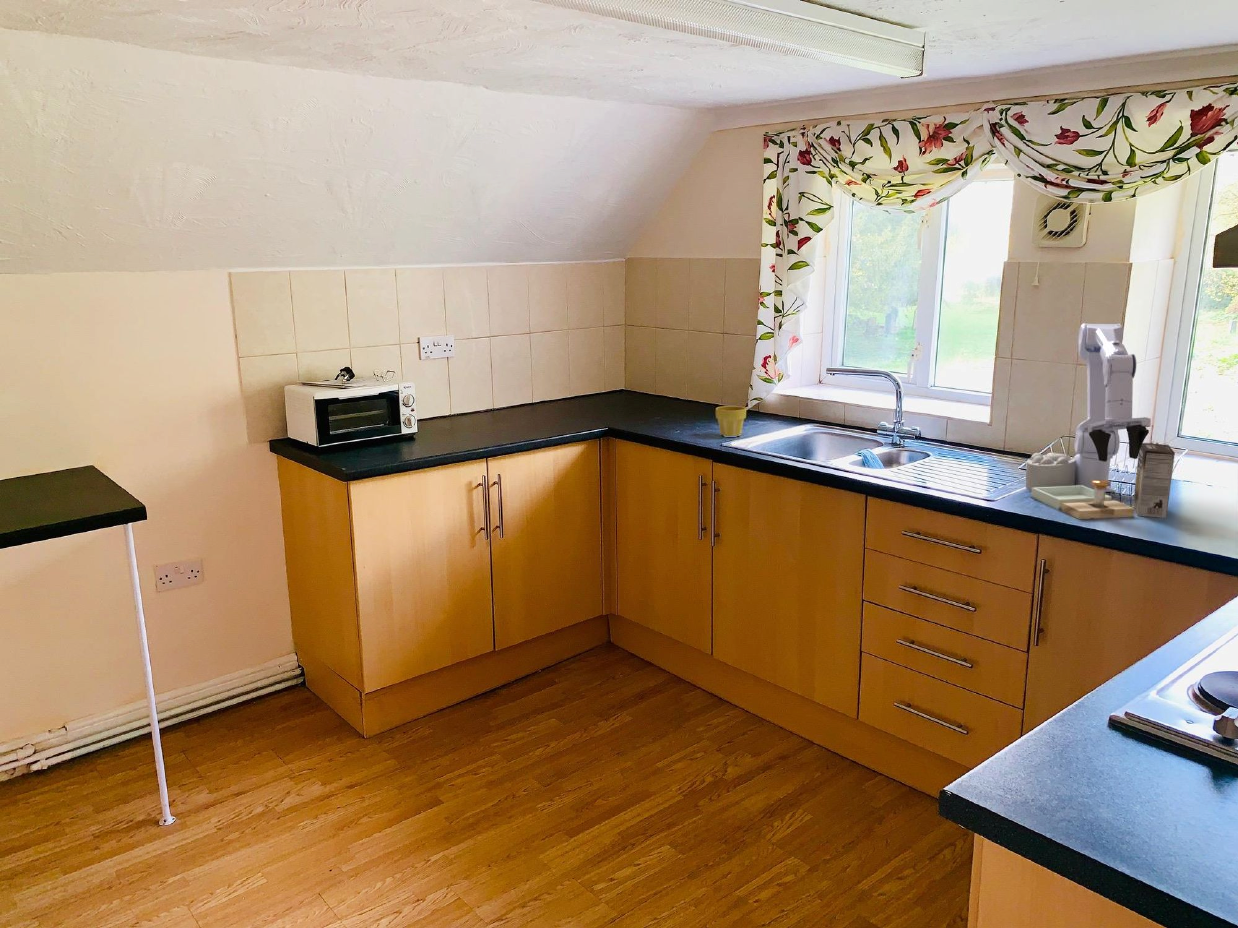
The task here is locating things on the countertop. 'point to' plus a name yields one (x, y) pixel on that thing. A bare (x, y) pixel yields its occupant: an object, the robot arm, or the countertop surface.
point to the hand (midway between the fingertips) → (1117, 459)
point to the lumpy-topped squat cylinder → (1050, 470)
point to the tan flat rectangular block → (1098, 510)
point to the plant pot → (730, 419)
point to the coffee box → (1153, 480)
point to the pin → (1099, 492)
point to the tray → (1064, 495)
